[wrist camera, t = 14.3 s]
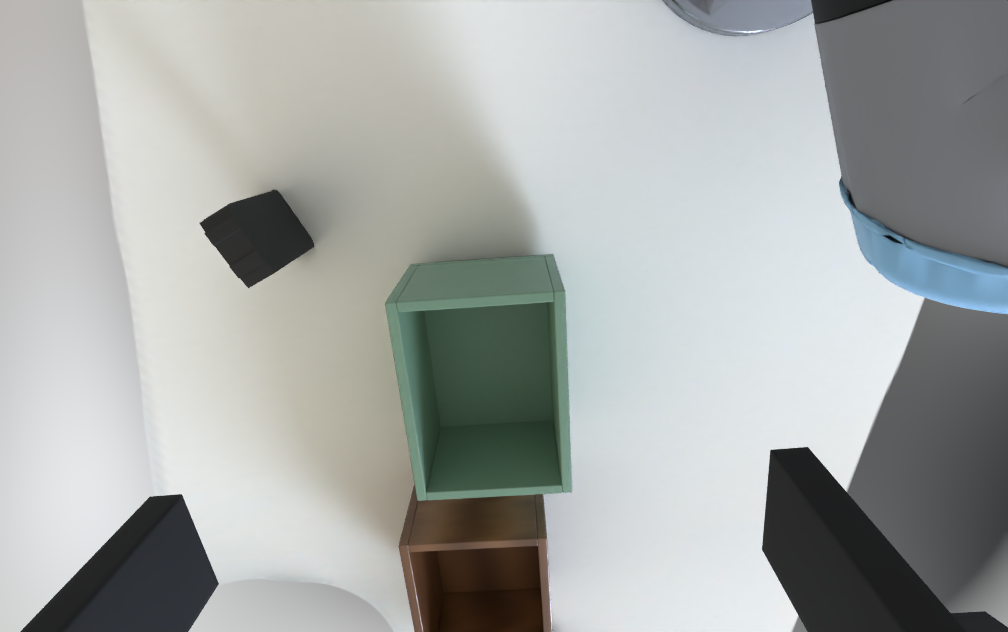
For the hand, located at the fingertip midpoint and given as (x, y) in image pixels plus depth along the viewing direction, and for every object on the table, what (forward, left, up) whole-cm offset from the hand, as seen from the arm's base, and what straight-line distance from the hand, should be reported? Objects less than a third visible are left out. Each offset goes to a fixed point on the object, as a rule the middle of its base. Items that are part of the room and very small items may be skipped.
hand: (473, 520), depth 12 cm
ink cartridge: (+16, -2, -31) cm, 35 cm away
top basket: (+1, +9, -31) cm, 32 cm away
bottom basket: (+3, +28, -31) cm, 42 cm away
